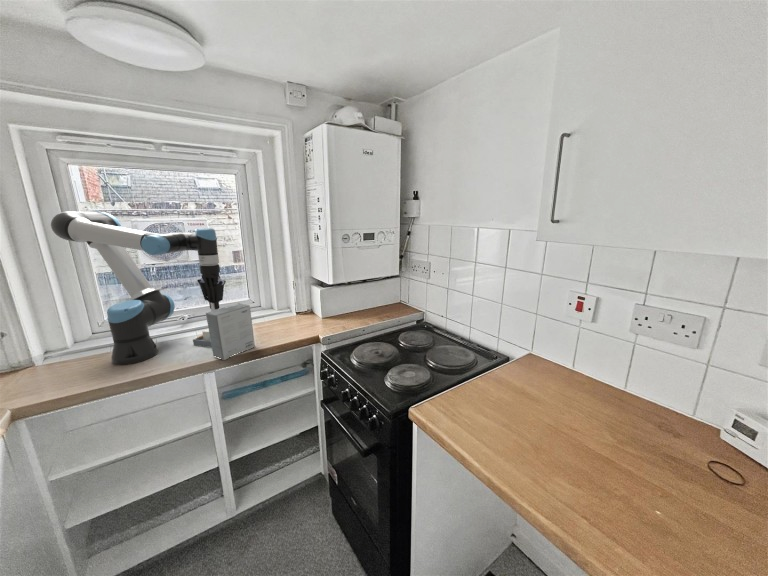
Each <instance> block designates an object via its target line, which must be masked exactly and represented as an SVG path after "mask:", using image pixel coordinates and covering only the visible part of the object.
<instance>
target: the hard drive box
mask: <svg viewBox="0 0 768 576" xmlns="http://www.w3.org/2000/svg"><path fill="white" fill-rule="evenodd" d="M205 316H206V322H207V329H209V334H210V340H211V345H212V347H211V351H212V356H216V357H219V358H221V359H222V360H221V361H225V360H228V359H230V358H229V357H230V356H232V355H234V354H237V353H239V352H242V351H245V350H247V351H249V350H248V349H250V348H252V349H254V348H256V344H255V343H256V342H255V336H254V328H253V320H252V312H251V307H250V305H249V304H245V303H240V302H239V303H236V304H235V303H234V304H232V305H229V306H225V307H221V308H219V309H218V310H214V311H211V310H210V311H208V312H205ZM253 347H254V348H253ZM250 350H251V349H250ZM245 352H246V351H245ZM242 353H243V352H242ZM237 355H238V354H237Z"/></svg>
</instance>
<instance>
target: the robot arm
mask: <svg viewBox="0 0 768 576" xmlns="http://www.w3.org/2000/svg"><path fill="white" fill-rule="evenodd" d="M50 227H51V230H52V231H53V234H55V235H56V236H57V237H59V238H61V239H63V240H66V241H69V242H77V243H87V245H88V247H90V248H91V249H96V250H97V252H98V254H100V256H101V257H102V259H103V260H104V261H105V263H106V264H107V266H108V267H109V268H110V269H111V271H112V272H113V274H114V276H115V277H116V278H117V280H118V281H119V282H120V284H121V285H122V287H123V288H124V290H125V291H126V292H127V294H128V295H129V297H130V300H125V301H121V302H118V303H114V304H112V305H111V306H110V307H108V309H107V310H106V315H107V321H108V325H109V329H110V333H111V337H112V340H113V347H112V353H111V363H112V364H114V365H120V366H123V365H132V364H136V363H140V362H144V361H146V360H149V359H151V358H152V357H155V356H156V355H157V354H158V352H159V349H158V346H157V344H156V343H155V341H154V340H153V339H152V337H151V335H150V331H149V327H151V326H153V325H155V324H158V323H161V322H163V321H165V320H167V319H169V318H170V317H171V316H172V315H173V314H174V312H175V308H176V307H175V302H174V300H173V299H172V297H170V296H169V295H167V294H165V293H161V291H160V290H159V289H158V288H156V287H155V288H154V287H153V286H152V285H151V283H150V282H149V281H148V279H147V278H146V276H145V275H144V273H143V272H142V270H141V269H140V267H138V265H137V263H136V262H135V261H134V259H133V258H132V256H131V255H130V253H129V252H128V251H127V249H132V250H137V251H143V252H145V253H147V254H148V255H151V256H162V255H164V254H165V255H166V254H171V253H176V252H178V253H179V252H183V251H185V252H186V251H197V255H198V256H197V257H198V264H199V270H200V271H199V273H200V274H201V278H199V279H197V283H198V284H199V287H200V289H201V293H202V296H203V299H204V301H206V302H208V304H209V309H210V312H211V311H214V310H218V309H220V302H221V301H223V300H224V290H225V284H226V280H225V279H222V278H221V276H220V273H221V267H220V264H219V263H220V259H219V252H218V241H217V239H218V237H217V235H216V234H217V233H216V230H215V229H214V228H212V227H211V228H208V227H205V228H203V227H202V228H201V227H200V228H195V229H194V232H179V231H177V232H169V233H156V232H150V231H145V230H139V229H134V228H133V229H132V228H127V227H123V226H122V225H121V223H120V221H119V219H117V217H115V216H114V215H113V214H110V213H108V212H105V211H104V212H103V211H98V210H97V211H94V210H93V211H74V210H73V211H72V210H71V211H63V212H62V211H61V212H60V213H57V214H56V215H54V216H53V217H52V220H51V222H50Z"/></svg>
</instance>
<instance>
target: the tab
mask: <svg viewBox="0 0 768 576" xmlns="http://www.w3.org/2000/svg"><path fill="white" fill-rule="evenodd" d="M202 335H203V339H204V340H205V341H211V340H210V334H209V329H208V328H207V329H205V330H202Z"/></svg>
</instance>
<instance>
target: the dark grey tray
mask: <svg viewBox="0 0 768 576" xmlns="http://www.w3.org/2000/svg"><path fill="white" fill-rule="evenodd" d="M192 343H193V346H198V347H207V348H212V345H211V341H205V340H204V339H203V334H201V335H199V336H197V337H196V338H193V339H192Z"/></svg>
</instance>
